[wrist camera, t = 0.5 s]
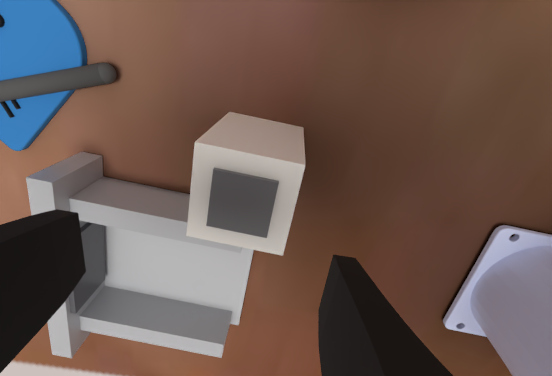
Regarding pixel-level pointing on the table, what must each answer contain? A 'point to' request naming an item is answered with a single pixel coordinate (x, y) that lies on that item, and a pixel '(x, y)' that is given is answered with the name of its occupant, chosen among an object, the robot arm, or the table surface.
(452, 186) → the table surface
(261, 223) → the block
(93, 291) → the dock
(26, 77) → the dark gray rod
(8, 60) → the handheld gaming device
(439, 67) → the table surface
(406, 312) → the table surface
